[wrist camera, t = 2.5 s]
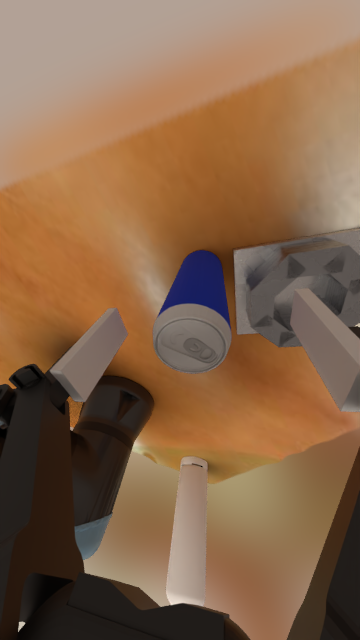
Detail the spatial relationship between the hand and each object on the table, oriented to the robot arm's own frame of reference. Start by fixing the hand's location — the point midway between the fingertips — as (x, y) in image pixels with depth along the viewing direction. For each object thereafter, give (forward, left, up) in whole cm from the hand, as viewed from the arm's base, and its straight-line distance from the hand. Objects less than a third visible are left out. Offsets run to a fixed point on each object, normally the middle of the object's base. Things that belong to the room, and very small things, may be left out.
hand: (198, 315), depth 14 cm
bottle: (-10, -59, -12) cm, 61 cm away
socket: (+11, -4, -11) cm, 16 cm away
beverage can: (0, 0, -12) cm, 12 cm away
